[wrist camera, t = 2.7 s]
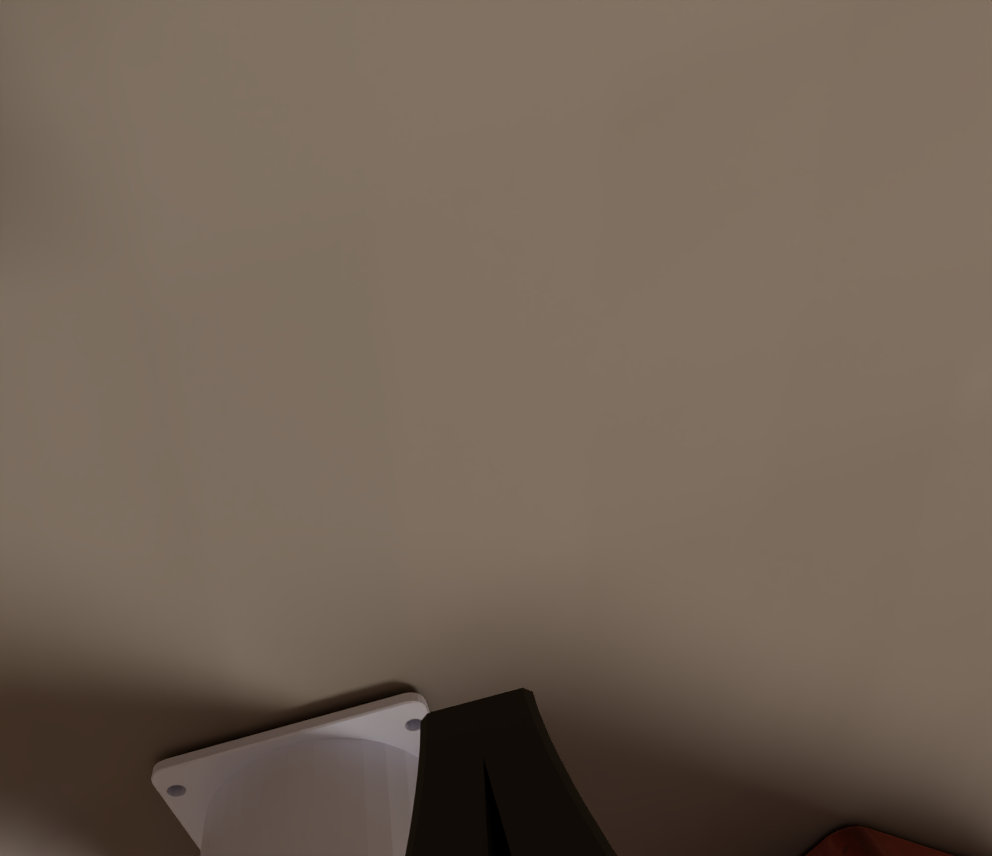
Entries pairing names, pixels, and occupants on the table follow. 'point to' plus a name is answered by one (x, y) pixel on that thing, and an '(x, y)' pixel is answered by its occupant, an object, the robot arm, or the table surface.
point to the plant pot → (869, 845)
